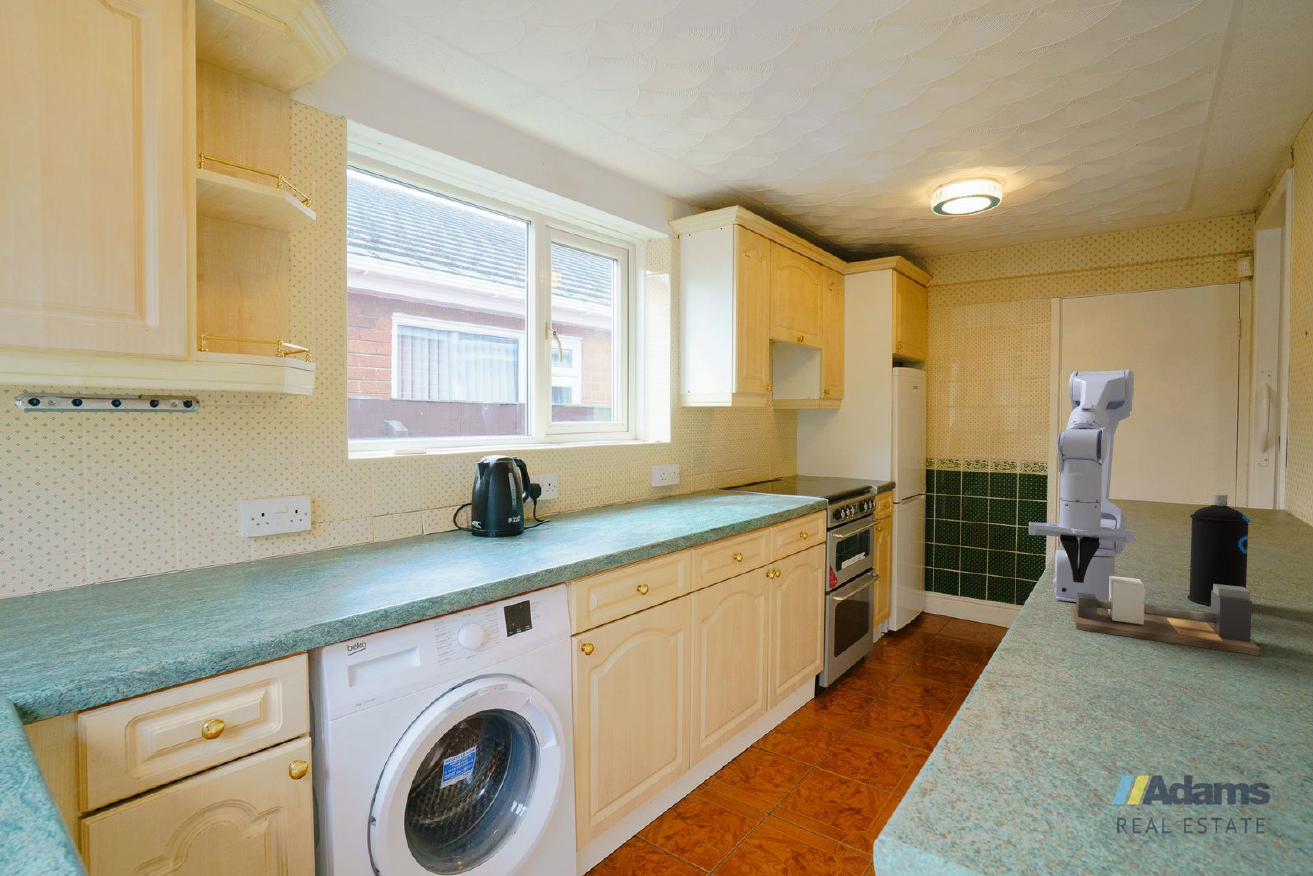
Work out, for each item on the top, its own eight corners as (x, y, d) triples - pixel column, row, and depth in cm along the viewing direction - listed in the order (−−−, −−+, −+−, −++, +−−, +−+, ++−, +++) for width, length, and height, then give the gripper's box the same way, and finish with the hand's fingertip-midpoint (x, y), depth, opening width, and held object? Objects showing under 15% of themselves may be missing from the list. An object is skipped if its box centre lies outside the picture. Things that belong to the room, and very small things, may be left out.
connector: (1218, 637, 93) (1220, 590, 93) (1210, 627, 97) (1211, 582, 97) (1250, 641, 91) (1252, 593, 91) (1239, 631, 96) (1241, 585, 95)
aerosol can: (1194, 605, 112) (1198, 495, 112) (1181, 594, 120) (1185, 491, 119) (1255, 612, 108) (1259, 498, 108) (1238, 600, 116) (1241, 493, 115)
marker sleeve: (1112, 620, 100) (1113, 582, 99) (1108, 611, 104) (1109, 575, 104) (1143, 624, 98) (1144, 586, 97) (1138, 615, 102) (1139, 579, 102)
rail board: (1076, 628, 100) (1076, 603, 99) (1071, 610, 109) (1071, 586, 109) (1259, 655, 89) (1260, 626, 88) (1236, 632, 98) (1237, 606, 98)
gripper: (1029, 500, 104) (1028, 580, 104) (1138, 506, 96) (1136, 593, 97) (1029, 495, 110) (1027, 571, 110) (1131, 501, 102) (1129, 583, 103)
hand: (1078, 581), depth 104 cm, fingers closed
